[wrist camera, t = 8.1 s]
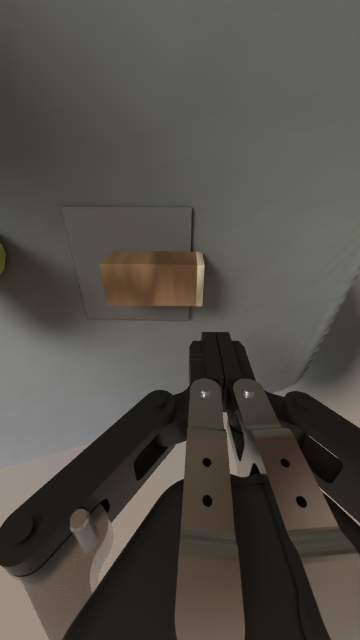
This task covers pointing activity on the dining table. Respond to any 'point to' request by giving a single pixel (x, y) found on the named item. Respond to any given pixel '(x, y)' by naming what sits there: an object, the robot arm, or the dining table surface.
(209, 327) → the dining table surface
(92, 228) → the mat
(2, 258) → the plant pot
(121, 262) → the tan wooden block
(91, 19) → the dining table surface
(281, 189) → the dining table surface
